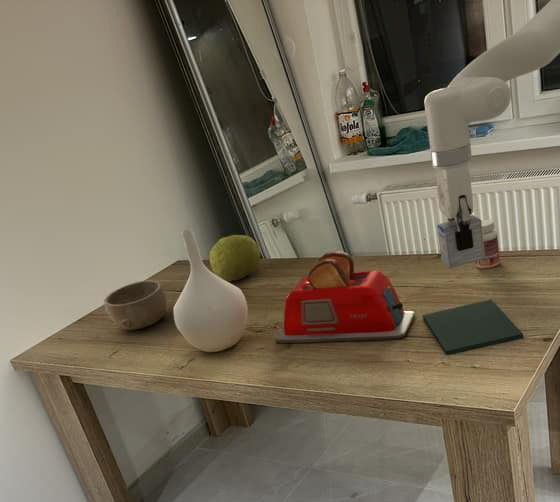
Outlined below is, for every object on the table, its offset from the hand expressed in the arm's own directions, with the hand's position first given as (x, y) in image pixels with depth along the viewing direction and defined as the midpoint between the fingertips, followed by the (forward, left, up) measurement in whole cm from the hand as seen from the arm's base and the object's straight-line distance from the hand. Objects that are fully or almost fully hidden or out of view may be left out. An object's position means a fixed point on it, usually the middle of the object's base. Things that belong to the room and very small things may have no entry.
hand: (461, 244), depth 140 cm
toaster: (+26, -14, -19) cm, 35 cm away
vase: (+57, -23, -19) cm, 65 cm away
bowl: (+81, -51, -19) cm, 98 cm away
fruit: (+52, -71, -19) cm, 90 cm away
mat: (0, 0, -19) cm, 19 cm away
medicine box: (0, 0, -4) cm, 4 cm away
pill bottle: (-15, -34, -19) cm, 42 cm away
